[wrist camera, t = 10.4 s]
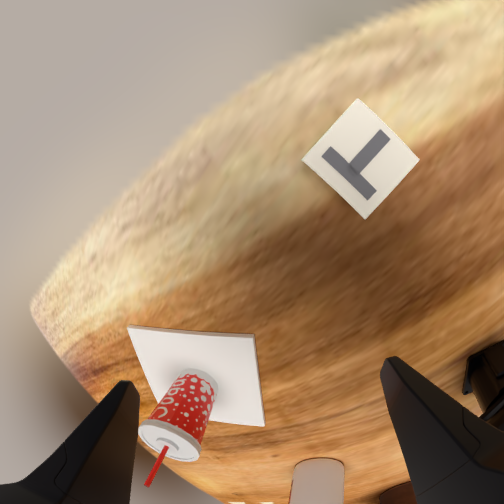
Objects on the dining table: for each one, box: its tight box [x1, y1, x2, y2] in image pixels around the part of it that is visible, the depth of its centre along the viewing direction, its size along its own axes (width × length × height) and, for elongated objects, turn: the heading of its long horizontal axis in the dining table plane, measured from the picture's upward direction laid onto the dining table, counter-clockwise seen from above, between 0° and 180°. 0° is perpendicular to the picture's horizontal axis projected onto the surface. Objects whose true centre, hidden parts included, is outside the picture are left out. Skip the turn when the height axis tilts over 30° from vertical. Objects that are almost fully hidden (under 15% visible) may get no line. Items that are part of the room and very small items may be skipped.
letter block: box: [302, 98, 419, 219], centre depth 16 cm, size 5×5×5 cm
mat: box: [127, 325, 265, 426], centre depth 29 cm, size 14×14×1 cm
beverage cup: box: [138, 368, 218, 487], centre depth 22 cm, size 6×6×14 cm
